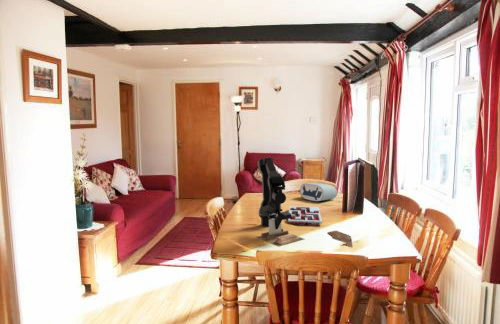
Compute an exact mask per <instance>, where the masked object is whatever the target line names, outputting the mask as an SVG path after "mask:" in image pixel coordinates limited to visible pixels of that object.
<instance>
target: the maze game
mask: <svg viewBox="0 0 500 324" xmlns="http://www.w3.org/2000/svg"><path fill="white" fill-rule="evenodd" d="M288 212H289V213H291V218H290V219H287V220H288V223H289V225H297V224H303V225H306V223H307V226H320V224H322V223H323V220H322V216H321V212H320V208H319V207H318V206H296V205H295V206H293V205H292V206H291V205H289V208H288ZM303 225H302V226H303Z"/></svg>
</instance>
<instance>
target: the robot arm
mask: <svg viewBox="0 0 500 324" xmlns="http://www.w3.org/2000/svg"><path fill="white" fill-rule="evenodd" d="M256 166H257V167H258V171H259V173H260V174H261V187H262V188H261V191H262V201H261V202H260V206H259V209H258V217H259V218H260V220H261V221H260V226H262V227H267V228H269V219H273V218H274V219H275V228H276V229H278V227H279V225H280V223H281V224H282V222H283V221H285V220H288V219H290V218H291V213H289V211H283V209H282V204H284V203H285V202H286V201H287V196H286V194H285V193H284V192H283V191H284V190H286V183H285V179H284V177H282V175H281V173H280V172H278V171H277V168H276V166H275V164H274V158H273V157H264V158H260V159H259V160H257V165H256Z"/></svg>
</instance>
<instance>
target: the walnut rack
mask: <svg viewBox="0 0 500 324" xmlns="http://www.w3.org/2000/svg"><path fill="white" fill-rule="evenodd" d="M288 234H291V233H289V230H284V229H283V228H281V232H279V233H275V234H271V235H269V231H266V232H263V233H262V232H261V235H259V236H256V238H257V239H259V240H262V241H263V242H266V243H269V244H270V245H274V246H276V247H278V248H279V247H282V246H286V245H289V244H293V243H297V242H300V241H303V240H305V238H304V237H300V236H297V237H300V240H297V241H293V242H290V243H286V244H283V245H281V244H279V243H276V242H275V240H276V239H277V237H280V236H284V235H288Z"/></svg>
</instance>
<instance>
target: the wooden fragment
mask: <svg viewBox="0 0 500 324" xmlns="http://www.w3.org/2000/svg"><path fill="white" fill-rule="evenodd" d="M327 234H328V235H330V237H331V239H333V240H335V241H338V242H342V245H344V246H347V247H348V248H353V242H352V236H351V235H349V234H346V233H345V232H341V231H339V230H337V229H335V230H331V231H328V232H327Z"/></svg>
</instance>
